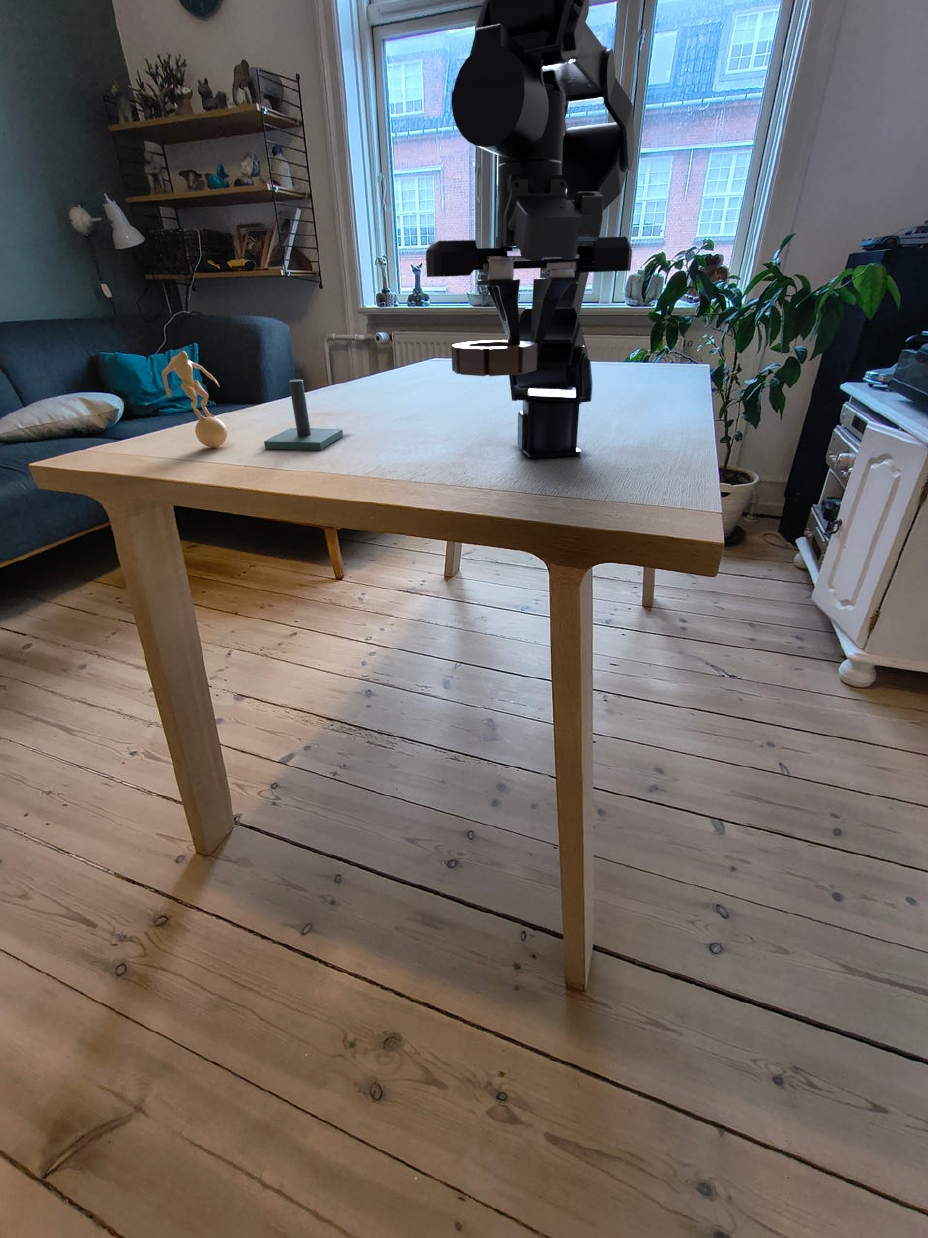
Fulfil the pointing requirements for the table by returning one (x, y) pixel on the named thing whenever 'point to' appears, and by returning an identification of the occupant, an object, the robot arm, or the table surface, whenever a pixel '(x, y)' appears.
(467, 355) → the ring
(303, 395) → the peg stand
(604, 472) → the table surface
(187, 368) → the figurine
